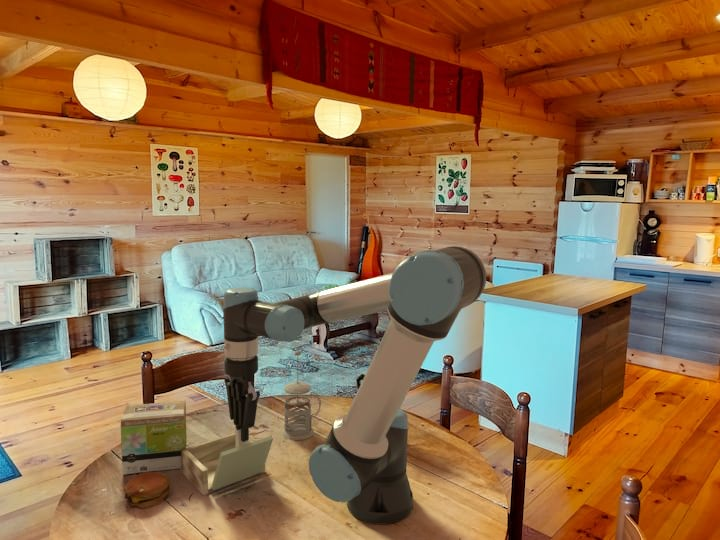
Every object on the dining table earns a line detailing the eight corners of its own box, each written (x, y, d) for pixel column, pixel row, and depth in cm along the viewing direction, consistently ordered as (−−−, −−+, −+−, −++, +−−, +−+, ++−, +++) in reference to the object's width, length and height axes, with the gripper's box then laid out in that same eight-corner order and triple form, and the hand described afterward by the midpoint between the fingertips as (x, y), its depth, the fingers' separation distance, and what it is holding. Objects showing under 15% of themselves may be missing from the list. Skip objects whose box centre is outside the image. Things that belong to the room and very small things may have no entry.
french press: (284, 424, 158) (284, 345, 154) (322, 425, 157) (322, 346, 153) (278, 439, 148) (277, 355, 144) (318, 440, 147) (318, 356, 144)
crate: (265, 471, 131) (264, 449, 130) (203, 495, 120) (202, 471, 119) (240, 451, 140) (240, 430, 140) (181, 471, 130) (180, 449, 129)
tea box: (122, 477, 127) (118, 420, 125) (128, 457, 137) (125, 404, 135) (186, 468, 131) (184, 414, 129) (187, 450, 141) (185, 398, 139)
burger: (168, 482, 125) (167, 464, 125) (172, 503, 117) (171, 484, 116) (124, 491, 121) (123, 473, 121) (124, 514, 113) (123, 494, 112)
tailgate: (273, 438, 123) (270, 434, 123) (222, 456, 114) (219, 451, 115) (261, 475, 129) (258, 470, 130) (212, 494, 120) (209, 489, 121)
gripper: (213, 351, 120) (215, 445, 124) (239, 366, 110) (240, 468, 114) (242, 345, 125) (243, 436, 128) (270, 360, 115) (270, 458, 119)
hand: (242, 451), depth 121 cm, fingers closed
